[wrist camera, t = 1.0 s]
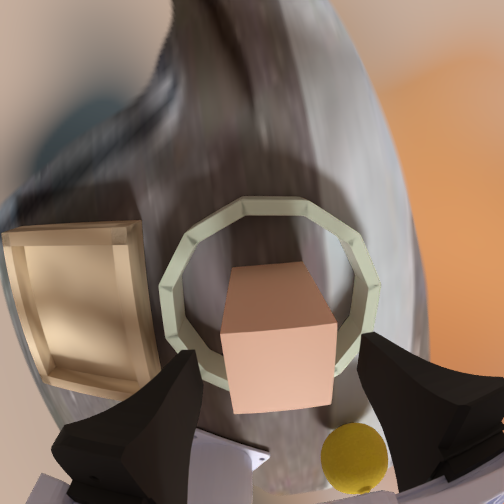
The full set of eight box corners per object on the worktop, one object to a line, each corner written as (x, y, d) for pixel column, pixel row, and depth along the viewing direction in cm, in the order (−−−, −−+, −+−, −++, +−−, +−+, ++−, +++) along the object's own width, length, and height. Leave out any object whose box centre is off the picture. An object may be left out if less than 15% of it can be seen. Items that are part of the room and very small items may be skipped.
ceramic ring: (295, 395, 21) (299, 417, 19) (144, 325, 19) (132, 343, 17) (397, 261, 18) (415, 273, 16) (231, 156, 16) (228, 153, 14)
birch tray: (164, 385, 21) (157, 406, 18) (56, 367, 21) (43, 382, 18) (141, 219, 17) (126, 227, 15) (21, 226, 17) (1, 233, 15)
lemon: (368, 396, 21) (399, 465, 14) (374, 430, 23) (399, 491, 15) (307, 419, 22) (323, 493, 14) (321, 449, 23) (335, 513, 16)
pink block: (303, 323, 19) (331, 404, 12) (239, 328, 19) (234, 413, 12) (302, 261, 18) (337, 322, 10) (231, 267, 18) (220, 333, 11)
